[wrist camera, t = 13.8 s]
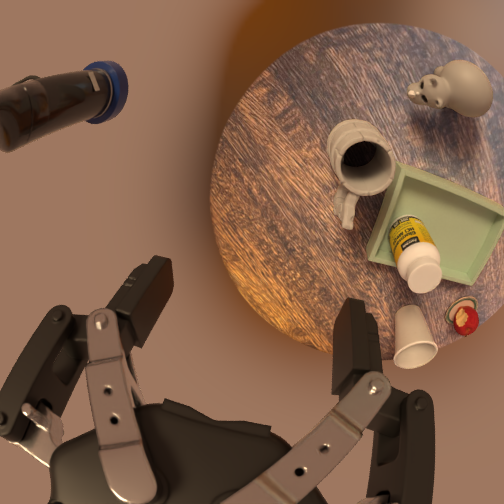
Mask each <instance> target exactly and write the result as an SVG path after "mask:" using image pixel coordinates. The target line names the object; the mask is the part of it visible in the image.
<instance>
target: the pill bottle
mask: <svg viewBox="0 0 504 504" xmlns="http://www.w3.org/2000/svg"><path fill="white" fill-rule="evenodd" d="M388 239H389V243H390V246H391V249H392V252H393V256H394V259H395V262H396V266H397V269H398V272H399V274H400V276H401V277H402V278H403V279H404V280H406V281H407V283H408V286H409V288H410V289H411V290H412V291H413V292H415V293H426V292H429V291H431V290H433V289H434V288H435V287H437V285H438V284H439V283H440V281H441V278H442V270H441V268H440V254H439V251H438V249H437V247H436V245H435V243H434V241H433V240H432V238H431V236H430V234H429V232H428V231H427V229H426V227H425V225H424V224H423V222H422V221H421V220H420V219H419V218H418V217H416V216H414V215H403V216H400V217H398V218H397V219H395V220H394V221H393V222H392V224H391V225H390V227H389V230H388Z"/></svg>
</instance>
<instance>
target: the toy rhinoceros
mask: <svg viewBox="0 0 504 504" xmlns="http://www.w3.org/2000/svg"><path fill="white" fill-rule="evenodd" d="M407 95H408V97H409V99H410V100H411V101H412V102H413V103H415V104H418V105H427V106H429V107H432V108H435V109H442V108H444V107H447V108H450V109H453V110H454V111H456V112H457V113H459V114H461V115H463V116H466V117H479V116H482V115H484V114H485V113H486V112H487V111H488V110H489V108H490V107H491V104H492V100H493V91H492V87H491V84H490V82H489V80H488V78H487V76H486V75H485V74H484V72H483V71H482V70H481V69H480V68H479V67H477V66H476V65H474V64H473V63H471V62H468V61H464V60H454V61H451V62H449V63H447V64H446V65H445V66H444V67H443V66H439V67H437V68H436V69H435V70H434V75H432V74H429V75H425V76H423V77H422V78H421V80H420V81H419V82H418V83H412V84H410V85H409V87H408V89H407Z"/></svg>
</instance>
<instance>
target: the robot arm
mask: <svg viewBox="0 0 504 504" xmlns="http://www.w3.org/2000/svg"><path fill="white" fill-rule="evenodd" d="M29 79H34V80H32V81H28V82H25V81H27V80H29ZM23 82H24V83H23ZM113 95H114V85H113V81H112V78H111V76H110V75H109V73H108V72H107V71H105V70H104V69H101V68H94V69H90V70H83V71H76V72H69V73H64V74H58V75H53V76H48V77H44V78H40V77H38V76H28V77H26V78H24V79H22V80H20V81H19V82H17V83H15V84H13V85H12V86H10V87H7V88H5V89H2V90H0V150H1V151H3V152H6V153H9V152H12V151H15V150H17V149H19V148H21V147H23V146H25V145H27V144H29V143H31V142H33V141H35V140H38V139H40V138H42V137H44V136H47V135H49V134H51V133H53V132H56V131H58V130H61V129H64V128H66V127H69V126H72V125H74V124H77V123H80V122H83V121H86V120H89V119H92V118H97V117H99V116H101V115H103V114H104V113H105V112H106V111H107V110H108V109H109V107H110V105H111V103H112V100H113ZM173 287H174V281H173V271H172V261H171V259H169V258H165V257H161V256H157V255H155V256H153V257H152V259H151V260H150V261H149V263H148V264H141V265H140V266H138V267H137V268H135V269H134V270H133V271H132V273H131V274H130V275H129V276H128V279H126V280H125V282H124V283H123V285H122V286H121V287H120V289H119V290H118V291H117V293H116V294H115V295H114V297H113V298H112V300H111V301H110V302H109V304H108V305H107V306H106V307H105V308H100V309H97V310H95V311H93V312H92V313H91V314H90V315H75V314H72V312H71V310H70V308H69V307H67V306H65V305H58V306H55V307H53V308H52V309H51V310H50V311H49V312H48V313H47V314H46V316H45V317H44V319H43V320H42V322H41V323H40V325H39V326H38V328H37V329H36V331H35V332H34V334H33V335H32V337H31V338H30V340H29V342H28V343H27V345H26V346H25V348H24V350H23V351H22V353H21V354H20V356H19V358H18V360H17V362H16V363H15V365H14V367H13V368H12V370H11V372H10V374H9V375H8V377H7V379H6V381H5V383H4V385H3V387H2V389H1V391H0V436H1V437H3V438H5V439H6V440H7V441H8V442H10V443H12V444H14V445H15V446H17V447H19V448H21V449H23V450H25V451H26V452H27V453H28V454H30V455H31V456H32V457H34V458H35V459H37V460H38V461H39V462H41V463H42V464H44V465H45V466H47V467H48V468H49V471H50V478H51V496H50V500H49V502H48V504H328V503H327V502H326V500H325V499H324V497H323V496H322V494H321V492H320V491H319V489H318V488H317V485H318V484H319V483H320V482H321V481H322V480H323V479H324V478H325V477H326V476H327V475H328V474H329V473H330V472H331V471H332V470H333V469H334V468H335V467H336V466H337V465H338V464H339V463H340V461H341V460H342V459H343V458H344V457H345V456H346V455H347V454H348V453H349V452H350V451H351V449H352V448H353V447H354V446H355V445H356V444H357V442H358V441H359V440H360V438H361V437H362V435H363V434H362V432H363V431H364V429H365V428H367V429H370V430H373V431H374V438H373V449H372V459H371V467H370V476H369V482H368V489H367V494H366V498H365V499H363V500H361V501H359V502H358V503H357V504H432V496H433V485H434V470H435V425H434V424H435V423H434V406H433V401H432V398H431V396H430V395H429V394H428V393H426V392H425V391H423V390H414V391H413V392H411V393H410V394H408V393H405V392H403V391H400V390H398V389H395V388H393V387H392V386H391V384H390V381H389V380H388V378H387V377H386V376H385V375H384V374H383V370H382V359H381V350H380V343H379V335H378V326H377V322H376V320H375V319H374V317H373V315H372V314H370V313H366V311H365V303H364V301H363V300H358V299H353V298H347V299H346V300H345V302H344V304H343V306H342V308H341V310H340V312H339V314H338V316H337V318H336V321H335V324H334V329H333V370H332V395H339V402H338V403H337V404H336V405H335V406H334V407H333V409H332V410H331V411H330V412H329V413H328V414H327V415H326V416H325V417H324V418H323V419H322V420H321V421H320V422H319V423H318V424H317V425H316V426H315V427H313V428H312V429H311V430H310V431H309V432H308V433H307V434H306V435H305V436H304V437H303V438H301V439H300V440H299V441H298V442H297V443H296V444H295V445H294V446H293V447H291V446H290V445H289V444H288V443H287V442H286V441H285V440H284V439H283V438H281V437H280V436H278V435H276V434H274V433H272V432H270V430H271V426H268V425H262V424H257V423H252V422H247V421H216V420H213V419H211V418H209V417H207V416H205V415H204V414H202V413H200V412H198V411H197V410H195V409H193V408H191V407H190V406H186V405H184V404H180V403H177V402H174V401H171V400H168V399H164V402H163V404H160V403H155V404H154V403H153V404H146V403H145V400H144V398H143V395H142V392H141V390H140V387H139V383H138V379H137V375H136V371H135V368H134V363H133V359H132V354H131V350H132V348H133V346H137V347H140V348H142V347H143V345H144V343H145V341H146V340H147V338H148V336H149V334H150V332H151V330H152V328H153V327H154V325H155V323H156V321H157V319H158V318H159V316H160V314H161V312H162V310H163V309H164V307H165V305H166V303H167V301H168V300H169V298H170V296H171V294H172V292H173ZM59 352H60V353H59ZM58 354H59V355H58ZM55 359H56V360H55ZM88 360H89V363H87V362H88ZM54 361H55V362H54ZM84 367H85V371H86V380H87V387H88V393H89V400H90V405H91V411H92V416H93V421H94V426H95V429H93V430H91V431H88V432H86V433H84V434H82V435H80V436H78V437H76V438H73V439H71V440H69V441H66V442H64V443H62V436H63V435H64V430H63V423H62V421H61V419H60V418H61V416H62V413H63V411H64V409H65V407H66V405H67V402H68V400H69V398H70V396H71V394H72V392H73V390H74V388H75V385H76V383H77V381H78V379H79V377H80V375H81V373H82V371H83V369H84Z"/></svg>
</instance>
